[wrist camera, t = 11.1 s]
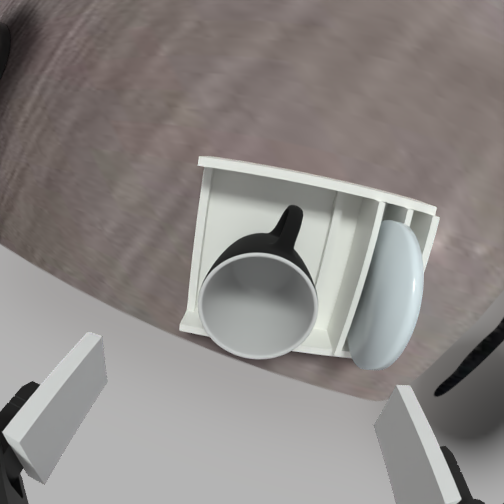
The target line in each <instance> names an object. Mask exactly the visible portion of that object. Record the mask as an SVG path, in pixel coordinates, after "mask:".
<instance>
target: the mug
mask: <svg viewBox="0 0 504 504" xmlns="http://www.w3.org/2000/svg"><path fill="white" fill-rule="evenodd" d="M302 220H303V211H302V209H301V208H300V207H298V206H296V205H289V206H288V207H287V208H286V210H285V211H284V213H283V214H282V216H281V218H280V220H279V221H278V223H277V225H276V226H275V228H274V229H273V230H272V231H271V232H269V233H254V234H250V235H247V236H244V237H242V238H240V239H238V240H237V241H235V242H234V243H233V244H231V245H230V246H229V247H228V248H227V249H226V250H225V251H224V252H223V253H222V254H221V255H220V256H219V257H218V259H217V260H216V261H215V263H214V264H213V265H212V267H211V268H210V270H209V272H208V273H207V275H206V277H205V279H204V281H203V283H202V285H201V288H200V291H199V296H198V313H199V318H200V321H201V323H202V326H203V328H204V329H205V331H206V333H207V334H208V335H209V337H210V338H211V339H212V340H213V341H214V342H215V343H216V344H217V345H219V346H220V347H221V348H223V349H224V350H226V351H228V352H230V353H232V354H234V355H237V356H240V357H244V358H249V359H269V358H274V357H278V356H281V355H284V354H286V353H288V352H290V351H292V350H294V349H295V348H297V347H298V346H299V345H300V344H301V343H303V342H304V341H305V339H306V338H307V337H308V336H309V334H310V333H311V331H312V329H313V327H314V325H315V323H316V319H317V315H318V297H317V292H316V288H315V285H314V282H313V280H312V277H311V275H310V273H309V271H308V269H307V267H306V265H305V263H304V262H303V260H302V258H301V257H300V256H299V254H298V253H297V252H296V250H295V249H294V246H295V242H296V239H297V236H298V234H299V231H300V228H301V224H302Z"/></svg>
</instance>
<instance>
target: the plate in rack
mask: <svg viewBox="0 0 504 504" xmlns="http://www.w3.org/2000/svg"><path fill="white" fill-rule="evenodd" d="M423 280H424V272H423V260H422V253H421V249H420V245H419V242H418V240H417V237H416V235H415V234H414V232H413V231H412V229H411V228H410V227H409V226H407V225H406V224H404V223H400V222H396V221H392V220H384V221H382V222H381V225H380V229H379V233H378V237H377V240H376V244H375V248H374V252H373V255H372V259H371V262H370V266H369V269H368V273H367V276H366V279H365V283H364V286H363V289H362V292H361V296H360V299H359V302H358V305H357V308H356V311H355V314H354V317H353V320H352V323H351V326H350V329H349V331H348V334H347V338H348V346H349V350H350V354H351V357H352V359H353V361H354V363H355V364H356V365H357V366H358V367H359V368H361V369H367V370H383V369H385V368H387V367H389V366H390V365H391V364H393V363H394V362H395V361H396V360H397V359H398V357H399V356H400V355H401V353H402V352H403V350H404V349H405V347H406V345H407V344H408V342H409V340H410V338H411V335H412V333H413V330H414V328H415V325H416V322H417V319H418V315H419V311H420V306H421V301H422V294H423Z"/></svg>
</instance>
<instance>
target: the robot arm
mask: <svg viewBox="0 0 504 504" xmlns="http://www.w3.org/2000/svg"><path fill="white" fill-rule="evenodd" d="M9 49H10V32H9V29H8V27H7V26H6V24H4V23H2V22H0V78H1V76H2V74H3V71H4V68H5V65H6V62H7V58H8V54H9ZM106 383H107V375H106V366H105V357H104V348H103V337H102V336H100V335H97V334H94V333H91V332H87V333H86V334H85V335H84V336H83V338H82V339H81V340H80V341H79V342H78V343H77V344H76V345H75V346H74V347H73V348H72V350H71V351H70V352H69V353H68V354H67V355H66V356H65V357H64V359H63V360H62V361H61V362H60V363H59V364H58V365H57V366H56V368H55V369H54V370H53V371H52V372H51V373H50V375H49V376H48V377H47V378H46V379H45V380H44V381H43V383H42V384H41V385H39V384H37V383H35V382H33V381H32V382H30V383H28V384H26V385H24V386H23V387H22V388H21V389H20V390H19V391H18V392H17V393H16V394H15V397H13V398H12V399H11V400H10V402H9V403H7V405H6V406H5V407H4V408H3V409H2V411H1V412H0V504H28V500H27V496H26V493H25V489H24V485H23V480H22V477H21V475H20V472H21V471H22V469H23V468H24V470H25V471H26V473H27V474H28V476H30V477H32V478H33V479H35V480H37V481H39V482H41V483H42V484H45V483H46V482H47V480H48V478H49V476H50V474H51V473H52V471H53V469H54V468H55V466H56V464H57V462H58V461H59V459H60V457H61V456H62V454H63V452H64V451H65V449H66V447H67V446H68V444H69V442H70V441H71V439H72V437H73V435H74V434H75V433H76V431H77V429H78V428H79V426H80V424H81V423H82V421H83V420H84V418H85V416H86V415H87V413H88V412H89V410H90V408H91V407H92V405H93V404H94V402H95V401H96V399H97V397H98V396H99V394H100V393H101V391H102V390H103V388H104V386H105V385H106ZM374 428H375V431H376V434H377V438H378V441H379V444H380V448H381V451H382V454H383V458H384V461H385V465H386V468H387V472H388V475H389V479H390V483H391V486H392V490H393V493H394V497H395V501H396V504H485V503H484V502H482V501H481V500H477V499H473V498H472V496H471V494H470V491H469V489H468V486H467V484H466V482H465V480H464V477H463V475H462V473H461V472H460V468H459V466H458V465H457V461H456V459H455V457H454V455H453V454H452V452H451V451H450V450H449V449H448V448H447V447H446V446H442V447H439V445H438V442H437V440H436V438H435V436H434V434H433V432H432V429H431V427H430V425H429V423H428V421H427V419H426V417H425V415H424V413H423V410H422V408H421V406H420V404H419V403H418V400H417V398H416V396H415V394H414V392H413V390H412V389H411V386H410V385H396V387H395V389H394V391H393V392H392V394H391V396H390V398H389V400H388V402H387V403H386V405H385V407H384V409H383V410H382V412H381V414H380V416H379V417H378V419H377V421H376V422H375V424H374ZM503 504H504V503H503Z"/></svg>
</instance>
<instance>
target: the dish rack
mask: <svg viewBox="0 0 504 504" xmlns="http://www.w3.org/2000/svg"><path fill="white" fill-rule="evenodd" d="M198 166H204V173H203V180H202V187H201V194H200V201H199V208H198V216H197V223H196V231H195V239H194V248H193V256H192V265H191V274H190V284H189V294H188V304H187V311H186V313H185V315H184V317H183V319H182V321H181V323H180V329H179V330H180V331H184V332H189V333H194V334H198V335H203V336H208V337H209V335H208V334H207V333H206V331H205V329H204V328H203V326H202V323H201V321H200V318H199V313H198V296H199V291H200V288H201V285H202V283H203V281H204V279H205V277H206V275H207V273H208V272H209V270H210V268H211V267H212V265H213V264H214V263H215V261H216V260H217V259H218V257H219V256H220V255H221V254H222V253H223V252H224V251H225V250H226V249H227V248H228V247H229V246H230V245H231V244H233V243H234V242H235V241H237V240H238V239H240V238H242V237H244V236H247V235H250V234H254V233H269V232H271V231H272V230H273V229H274V228H275V226H276V225H277V223H278V221H279V220H280V218H281V216H282V214H283V213H284V211H285V210H286V208H287V207H288V206H289V205H296V206H298V207H300V208H301V209H302V211H303V220H302V224H301V228H300V231H299V234H298V236H297V239H296V242H295V246H294V249H295V250H296V252H297V253H298V254H299V256H300V257H301V258H302V260H303V262H304V263H305V265H306V267H307V269H308V271H309V273H310V275H311V277H312V280H313V282H314V285H315V288H316V292H317V297H318V315H317V319H316V323H315V325H314V327H313V329H312V331H311V333H310V334H309V336H308V337H307V338H306V339H305V341H304V342H303V343H301V344H300V345H299V346H298V347H297V348H295V349H294V350H292V351H296V352H303V353H311V354H318V355H327V356H335V357H344V358H352V357H351V354H350V350H349V346H348V338H347V334H348V331H349V329H350V326H351V323H352V320H353V317H354V314H355V311H356V308H357V305H358V302H359V299H360V296H361V292H362V289H363V286H364V283H365V279H366V276H367V273H368V269H369V266H370V262H371V259H372V255H373V252H374V248H375V244H376V240H377V237H378V233H379V229H380V225H381V222H382V221H384V220H392V221H396V222H400V223H404V224H406V225H407V226H409V227H410V228H411V229H412V231H413V232H414V234H415V235H416V237H417V240H418V242H419V245H420V249H421V253H422V260H423V272H424V271H425V268H426V265H427V262H428V258H429V255H430V252H431V248H432V245H433V241H434V238H435V234H436V231H437V227H438V223H439V219H440V218H439V217H437V216H435V213H436V209H437V207H435V206H432V205H429V204H427V203H424V202H421V201H418V200H416V199H412V198H409V197H405V196H401V195H398V194H394V193H390V192H386V191H383V190H379V189H375V188H371V187H367V186H363V185H359V184H355V183H350V182H346V181H342V180H337V179H333V178H328V177H324V176H319V175H315V174H310V173H305V172H300V171H295V170H290V169H285V168H279V167H274V166H268V165H263V164H257V163H251V162H245V161H239V160H233V159H226V158H220V157H213V156H199V160H198Z"/></svg>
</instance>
